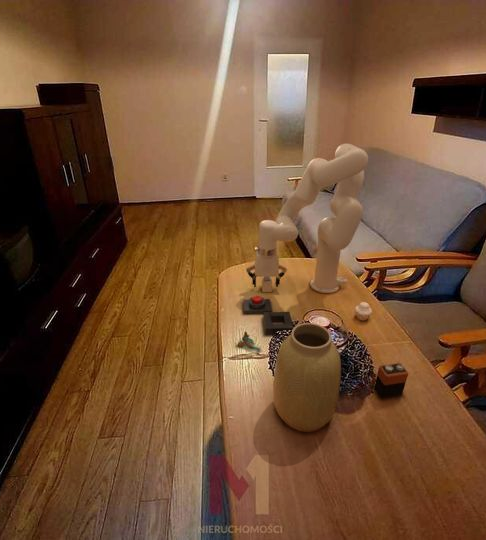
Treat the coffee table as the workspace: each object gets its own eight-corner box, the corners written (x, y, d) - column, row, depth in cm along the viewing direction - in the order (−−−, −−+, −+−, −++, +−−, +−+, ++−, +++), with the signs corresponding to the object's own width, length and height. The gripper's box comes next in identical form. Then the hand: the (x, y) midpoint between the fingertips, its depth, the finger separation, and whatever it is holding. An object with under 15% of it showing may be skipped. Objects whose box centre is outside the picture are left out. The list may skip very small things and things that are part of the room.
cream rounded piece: (355, 322, 131) (358, 307, 128) (351, 313, 137) (354, 298, 133) (372, 322, 131) (375, 307, 128) (367, 313, 136) (370, 298, 133)
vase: (303, 451, 86) (312, 371, 73) (259, 405, 99) (261, 330, 86) (348, 416, 95) (363, 339, 82) (303, 378, 107) (310, 306, 94)
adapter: (289, 317, 135) (289, 311, 133) (292, 334, 126) (293, 327, 124) (263, 318, 135) (263, 312, 133) (265, 335, 126) (265, 328, 124)
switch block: (269, 302, 144) (270, 295, 142) (271, 313, 137) (271, 306, 135) (243, 302, 144) (243, 295, 142) (243, 314, 137) (243, 306, 135)
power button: (261, 299, 141) (261, 295, 140) (261, 304, 138) (262, 300, 137) (252, 299, 141) (252, 295, 140) (252, 304, 138) (252, 300, 137)
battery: (373, 387, 104) (379, 362, 99) (394, 384, 105) (401, 359, 100) (380, 399, 100) (387, 374, 95) (402, 396, 101) (410, 370, 96)
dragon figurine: (267, 339, 122) (248, 327, 123) (263, 346, 115) (243, 332, 116) (258, 354, 123) (239, 341, 125) (253, 361, 116) (234, 348, 118)
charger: (270, 287, 155) (271, 275, 152) (271, 291, 151) (272, 280, 148) (261, 287, 155) (262, 275, 152) (262, 292, 151) (262, 280, 148)
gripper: (246, 254, 140) (246, 290, 149) (289, 254, 141) (286, 290, 149) (246, 246, 147) (245, 281, 155) (287, 246, 147) (284, 281, 155)
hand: (265, 285), depth 152 cm, fingers open, 9 cm apart
